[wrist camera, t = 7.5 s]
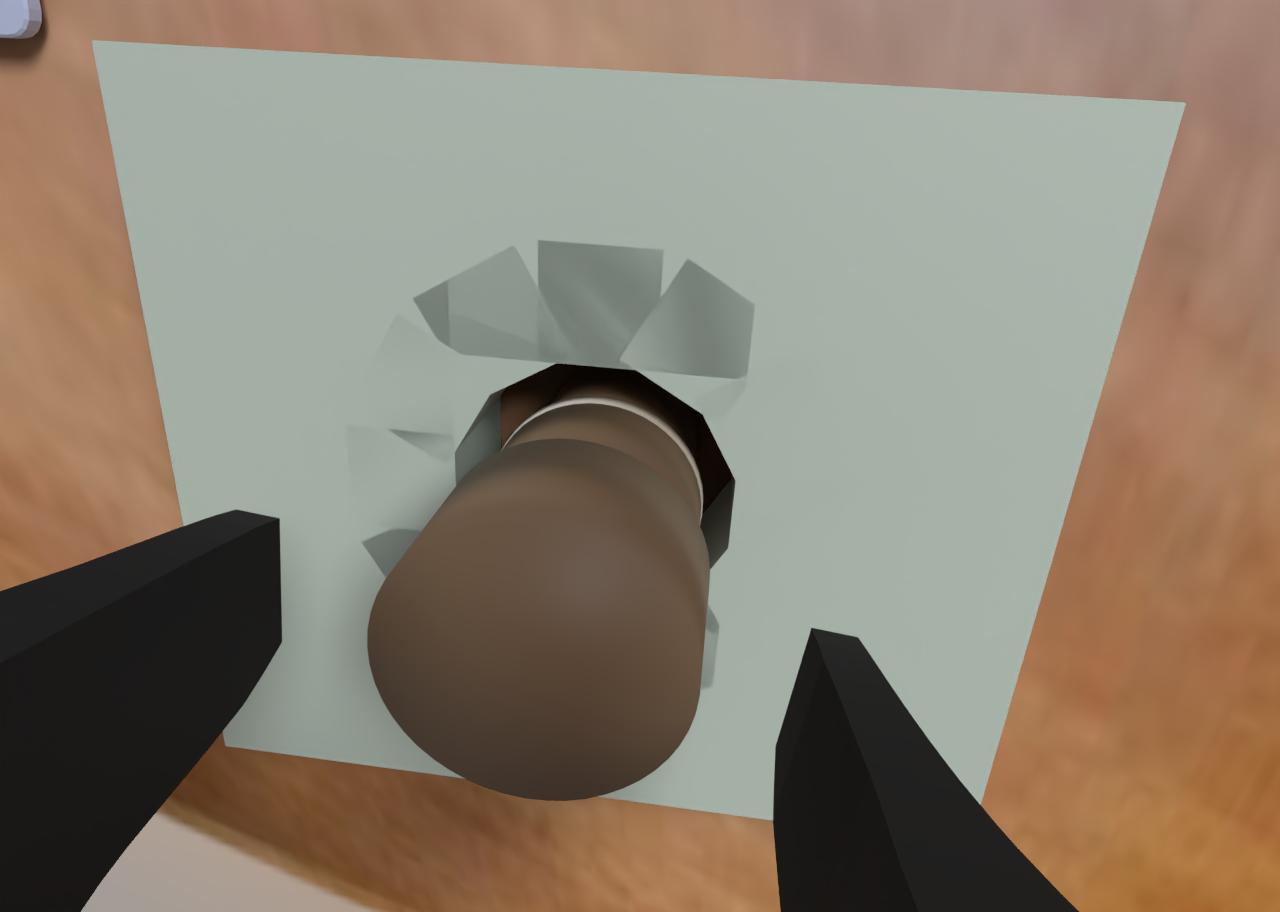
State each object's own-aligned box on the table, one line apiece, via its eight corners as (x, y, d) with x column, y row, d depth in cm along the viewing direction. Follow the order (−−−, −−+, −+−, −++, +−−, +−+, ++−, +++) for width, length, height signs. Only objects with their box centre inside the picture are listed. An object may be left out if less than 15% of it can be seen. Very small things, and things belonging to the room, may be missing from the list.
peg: (511, 496, 19) (356, 754, 11) (541, 314, 17) (381, 481, 10) (695, 542, 18) (658, 834, 11) (745, 364, 17) (740, 571, 9)
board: (292, 662, 21) (225, 745, 18) (207, 50, 16) (91, 40, 13) (938, 742, 20) (968, 847, 17) (1102, 100, 14) (1185, 102, 11)
